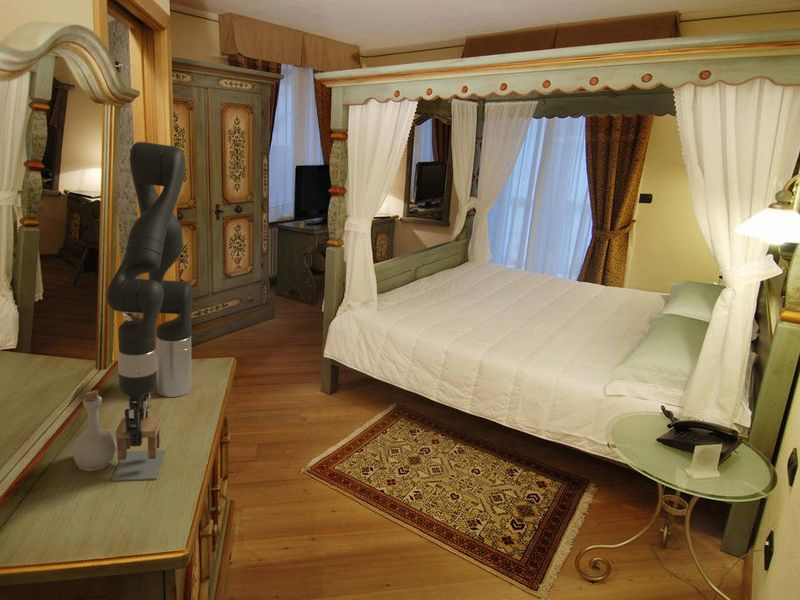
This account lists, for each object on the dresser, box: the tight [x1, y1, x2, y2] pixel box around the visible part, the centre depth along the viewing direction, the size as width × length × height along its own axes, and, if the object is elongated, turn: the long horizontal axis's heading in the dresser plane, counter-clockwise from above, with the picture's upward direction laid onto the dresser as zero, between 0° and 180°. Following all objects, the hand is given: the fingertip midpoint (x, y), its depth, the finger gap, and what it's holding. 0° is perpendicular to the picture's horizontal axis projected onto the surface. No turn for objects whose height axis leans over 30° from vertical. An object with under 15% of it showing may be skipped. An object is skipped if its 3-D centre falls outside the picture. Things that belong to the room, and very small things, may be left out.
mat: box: [111, 449, 167, 482], centre depth 123 cm, size 11×9×1 cm
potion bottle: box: [71, 389, 117, 473], centre depth 120 cm, size 9×9×18 cm
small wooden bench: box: [115, 417, 162, 461], centre depth 121 cm, size 8×6×7 cm
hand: (139, 437), depth 121 cm, fingers closed on small wooden bench, 6 cm apart
